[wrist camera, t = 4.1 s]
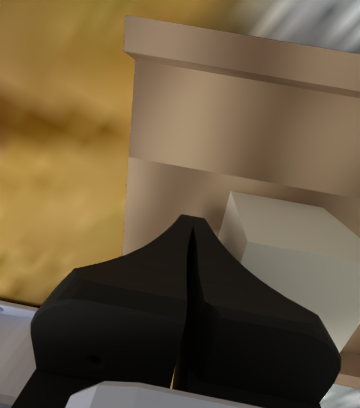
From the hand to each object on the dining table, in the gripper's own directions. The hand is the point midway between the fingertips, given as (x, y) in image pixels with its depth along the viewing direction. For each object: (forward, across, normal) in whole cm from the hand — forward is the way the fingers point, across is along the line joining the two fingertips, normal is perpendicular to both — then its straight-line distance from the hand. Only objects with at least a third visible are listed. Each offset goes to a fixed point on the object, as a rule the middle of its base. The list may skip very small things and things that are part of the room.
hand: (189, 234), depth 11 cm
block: (+1, -4, 0) cm, 4 cm away
